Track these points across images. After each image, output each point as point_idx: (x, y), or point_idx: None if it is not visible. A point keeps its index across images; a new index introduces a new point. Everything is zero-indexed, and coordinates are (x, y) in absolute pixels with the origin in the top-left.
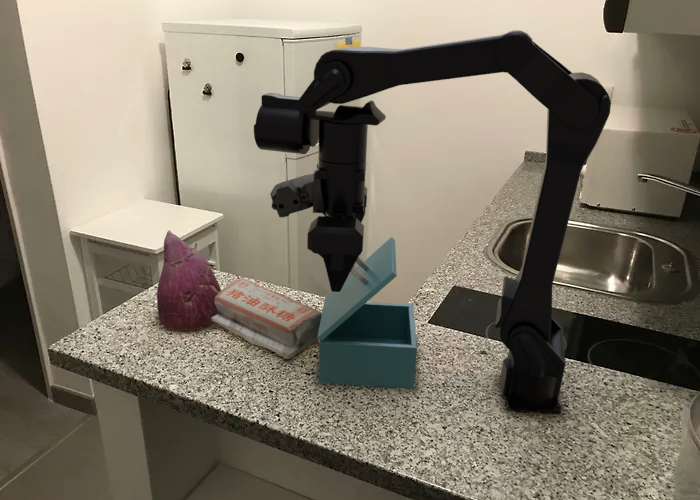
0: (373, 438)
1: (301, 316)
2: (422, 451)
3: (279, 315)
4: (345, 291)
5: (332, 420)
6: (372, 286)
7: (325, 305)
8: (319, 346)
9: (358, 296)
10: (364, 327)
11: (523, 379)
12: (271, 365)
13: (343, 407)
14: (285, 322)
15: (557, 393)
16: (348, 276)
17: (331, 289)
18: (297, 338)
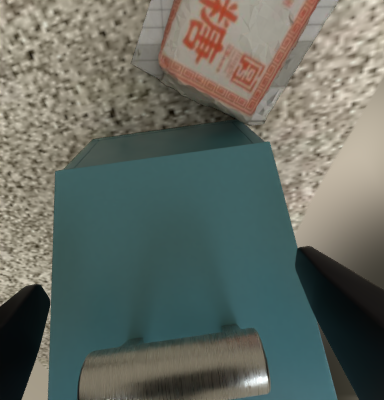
0: (12, 231)
1: (214, 78)
2: (22, 276)
3: (207, 6)
4: (192, 239)
5: (16, 179)
6: (72, 387)
7: (205, 158)
8: (65, 167)
9: (86, 319)
10: None
11: None
12: (112, 26)
13: (52, 187)
14: (178, 38)
15: None
16: (282, 232)
17: (19, 292)
18: (162, 79)
